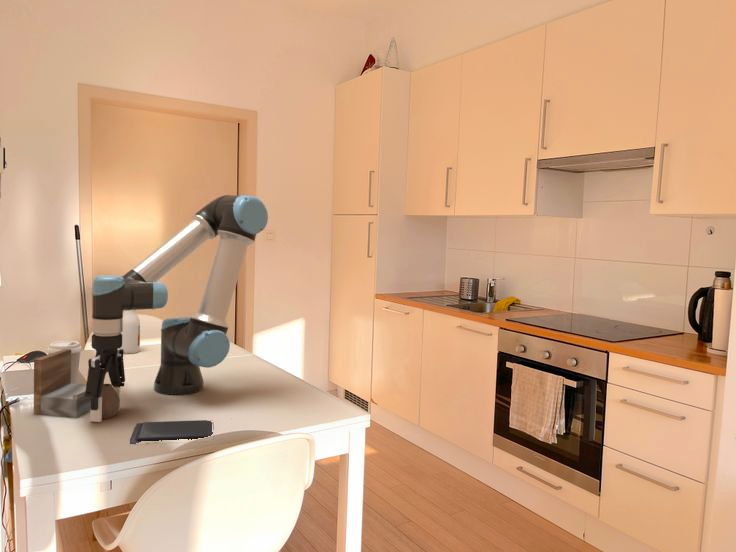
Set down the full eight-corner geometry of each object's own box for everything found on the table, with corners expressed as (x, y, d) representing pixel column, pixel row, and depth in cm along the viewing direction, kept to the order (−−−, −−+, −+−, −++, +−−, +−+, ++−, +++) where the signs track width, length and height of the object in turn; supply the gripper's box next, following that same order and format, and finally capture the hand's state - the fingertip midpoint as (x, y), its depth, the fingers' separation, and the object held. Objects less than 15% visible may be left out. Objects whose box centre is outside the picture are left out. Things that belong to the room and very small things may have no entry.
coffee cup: (66, 398, 168) (67, 348, 166) (38, 394, 169) (38, 345, 168) (88, 389, 177) (89, 342, 176) (61, 386, 179) (62, 339, 178)
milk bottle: (134, 354, 225) (135, 304, 223) (115, 353, 225) (116, 303, 223) (142, 350, 232) (143, 301, 231) (123, 349, 233) (124, 300, 231)
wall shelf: (103, 402, 166) (104, 351, 165) (76, 417, 152) (77, 362, 151) (63, 399, 167) (64, 348, 165) (33, 414, 153) (34, 359, 152)
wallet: (127, 439, 137) (137, 418, 151) (127, 447, 137) (136, 425, 151) (214, 437, 141) (215, 416, 156) (213, 444, 142) (214, 423, 156)
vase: (101, 422, 150) (102, 389, 150) (86, 416, 154) (86, 384, 153) (125, 416, 156) (125, 384, 155) (109, 410, 160) (110, 379, 159)
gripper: (114, 325, 164) (112, 402, 166) (70, 340, 143) (68, 427, 145) (139, 327, 163) (137, 404, 165) (98, 342, 142) (97, 430, 144)
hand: (105, 415), depth 155 cm, fingers open, 9 cm apart
